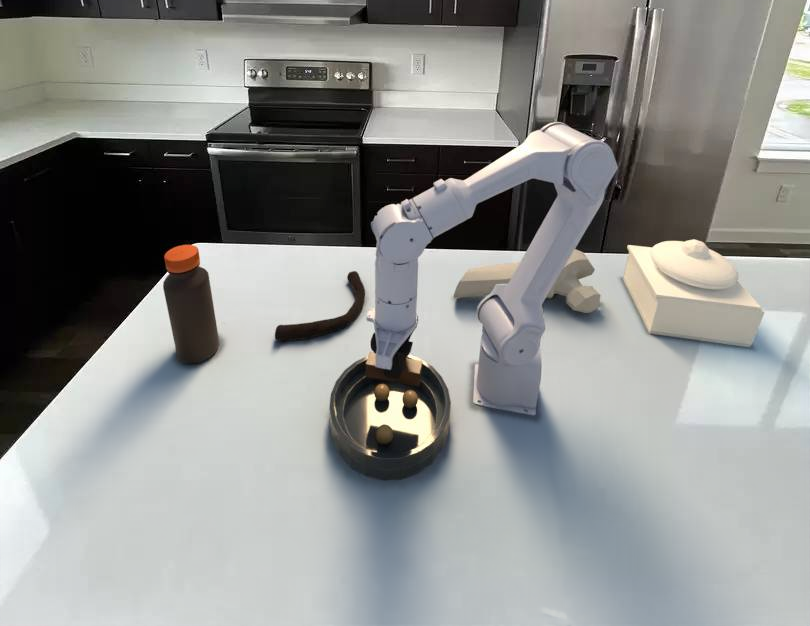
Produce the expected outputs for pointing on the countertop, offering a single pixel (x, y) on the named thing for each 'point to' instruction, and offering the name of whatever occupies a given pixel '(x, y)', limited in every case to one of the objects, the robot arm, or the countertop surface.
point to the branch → (326, 325)
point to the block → (408, 373)
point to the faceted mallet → (566, 284)
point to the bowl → (389, 422)
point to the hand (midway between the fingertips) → (394, 367)
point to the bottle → (190, 305)
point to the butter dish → (691, 293)
